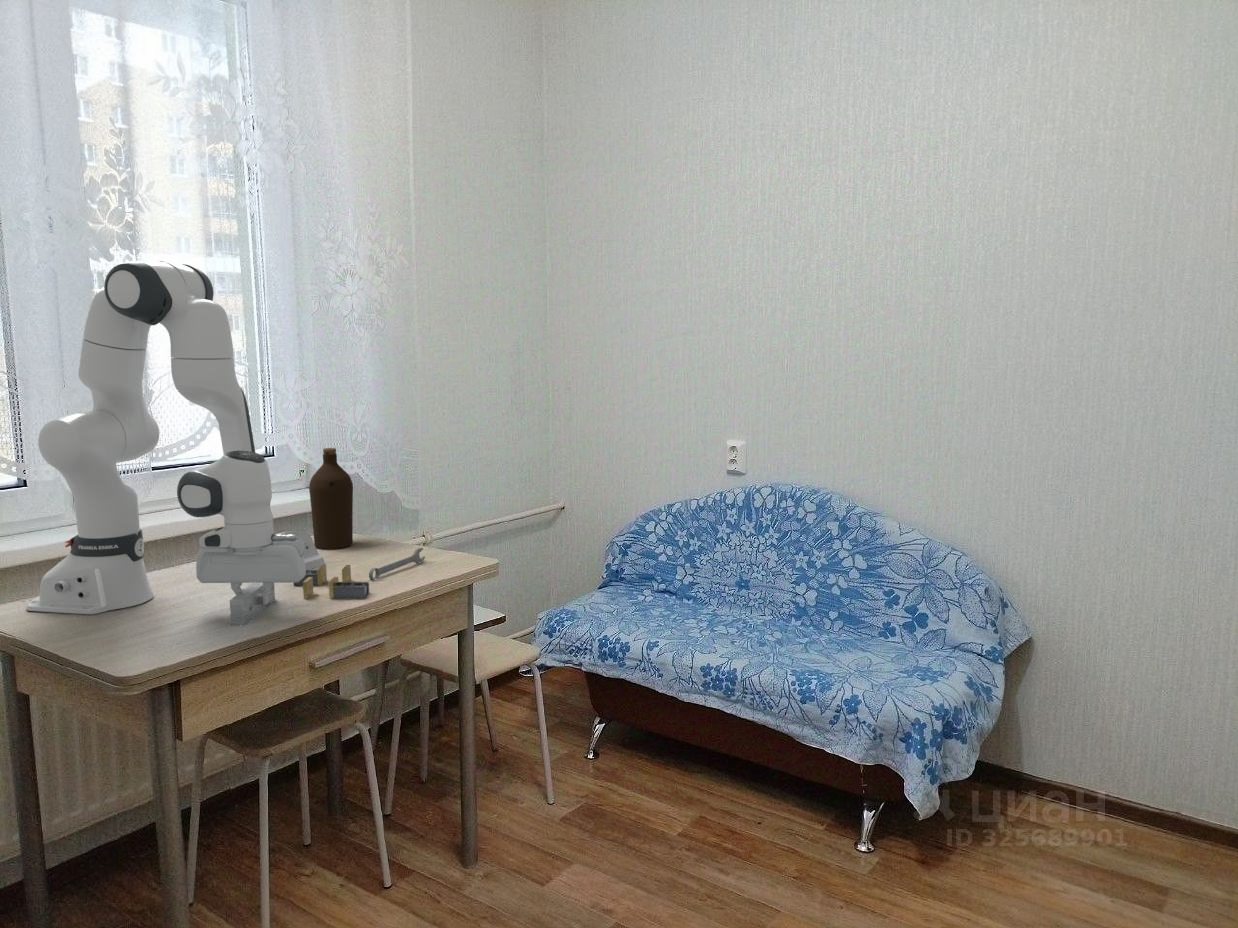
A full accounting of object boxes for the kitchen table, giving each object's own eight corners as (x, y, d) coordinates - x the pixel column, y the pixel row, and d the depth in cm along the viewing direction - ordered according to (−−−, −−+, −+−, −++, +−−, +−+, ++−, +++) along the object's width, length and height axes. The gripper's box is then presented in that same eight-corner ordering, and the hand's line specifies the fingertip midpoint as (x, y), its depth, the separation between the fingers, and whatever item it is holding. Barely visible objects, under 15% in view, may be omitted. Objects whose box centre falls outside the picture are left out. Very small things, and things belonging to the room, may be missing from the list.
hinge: (271, 581, 208) (258, 537, 208) (257, 585, 210) (243, 542, 210) (326, 564, 222) (313, 523, 223) (312, 568, 225) (300, 528, 225)
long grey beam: (230, 626, 177) (229, 600, 176) (262, 600, 194) (261, 576, 193) (244, 625, 177) (243, 600, 176) (275, 600, 194) (274, 576, 193)
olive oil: (363, 544, 242) (359, 448, 239) (327, 552, 234) (322, 452, 231) (340, 538, 249) (335, 444, 245) (303, 545, 241) (299, 448, 237)
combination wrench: (371, 567, 207) (427, 546, 225) (367, 567, 208) (422, 546, 226) (372, 584, 208) (427, 561, 226) (367, 583, 208) (423, 561, 226)
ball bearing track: (278, 598, 194) (277, 582, 194) (299, 580, 208) (298, 565, 208) (364, 598, 195) (364, 581, 194) (380, 580, 208) (379, 564, 208)
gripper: (308, 531, 186) (311, 598, 188) (204, 531, 186) (208, 599, 188) (298, 538, 180) (302, 608, 182) (190, 538, 180) (195, 608, 182)
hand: (253, 603), depth 185 cm, fingers open, 2 cm apart
